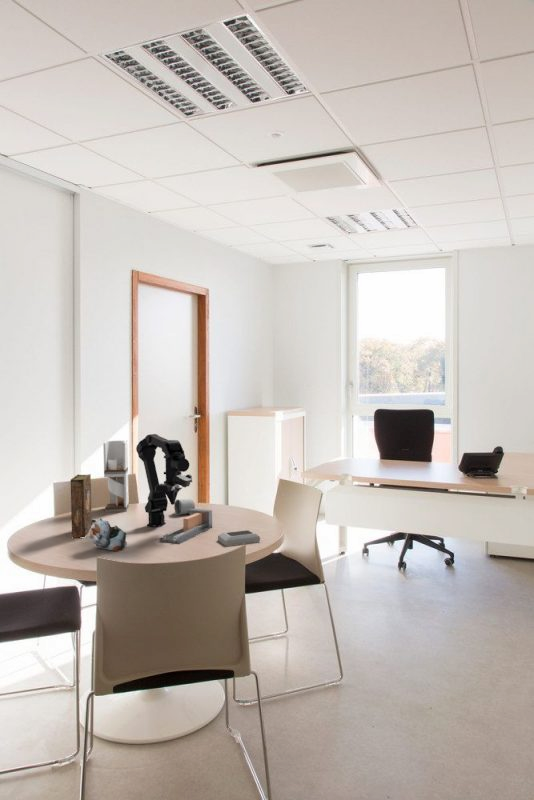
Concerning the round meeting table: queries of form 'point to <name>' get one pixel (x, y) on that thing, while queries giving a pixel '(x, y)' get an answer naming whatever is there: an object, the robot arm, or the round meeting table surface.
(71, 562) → the round meeting table surface
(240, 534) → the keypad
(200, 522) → the tan flat rectangular block
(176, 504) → the ceramic mug
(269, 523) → the round meeting table surface
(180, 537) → the track base
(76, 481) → the book
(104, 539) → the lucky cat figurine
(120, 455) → the grey shelving unit
